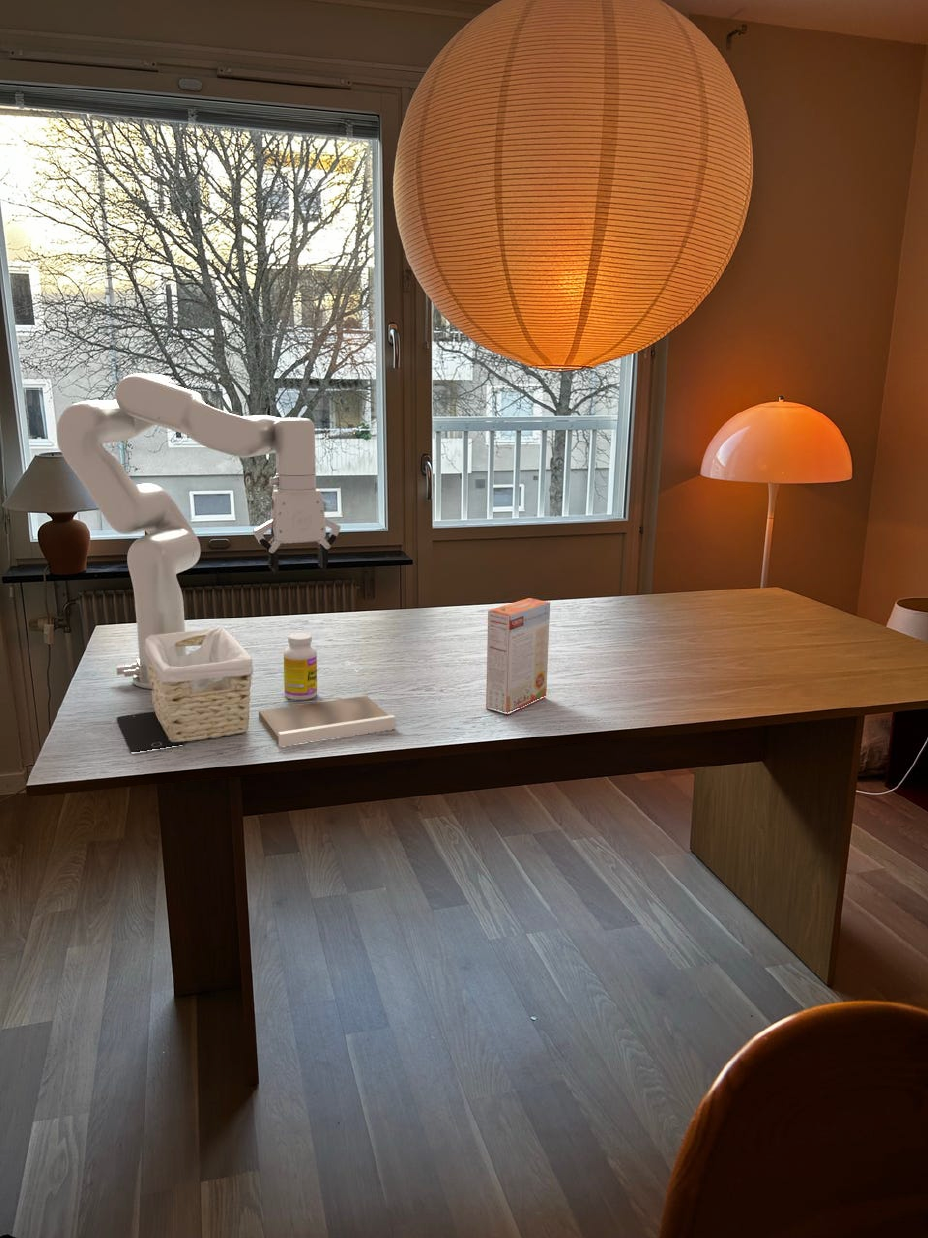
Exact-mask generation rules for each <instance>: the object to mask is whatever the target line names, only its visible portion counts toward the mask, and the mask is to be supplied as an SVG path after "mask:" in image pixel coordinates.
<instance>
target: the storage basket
mask: <svg viewBox="0 0 928 1238" xmlns="http://www.w3.org/2000/svg"><path fill="white" fill-rule="evenodd" d="M182 646H186V647H193V646H194V647H195V646H200V648H198V649H195V650H193V651H191V652H189V653H186V655H185V656H180V657H178V656H177V653H176V647H182ZM145 651H146V654H147V656H148V663H149V668H150V669H149V676H150V685H151V689H150V690H151V699H152V707H153V710H154V711H155V713H156V716H157V718H158V720H159V722H160V723H161V725H162V727H163V729H164V731H165V732H166V734H167V736H168V738H169V740H170V741H171V742H182V741H183V743H185V742H192V741H197V740H206V739H208V738H211V739H215V738H216V739H217V738H221V737H223V736H225V737H226V736H228V737H229V736H232V735H235V734H237V735H238V734H242V733H243V734H244V733H246V732H247V731H248V730H249V723H250V721H249V720H250V711H251V710H250V704H251V703H250V701H251V697H250V696H251V687H252V678H253V676H252V675H253V673H254V666H253V659H252V657H251V655H250V654H249V653H248V652H247V651H246V649H245V648H244V647H243V646H242V645H241V644H240V643H238V641H237V640H236V639H235V637H234V636H233V635H231V633H230V632H229V631H228V630H226V629H225V628H224V627H216V628H210V629H209V628H208V629H196V630H185V631H184V632H175V633H167V634H157V635H150V636H148V637H147V638H146V639H145Z"/></svg>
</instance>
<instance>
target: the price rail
mask: <svg viewBox="0 0 928 1238" xmlns="http://www.w3.org/2000/svg"><path fill="white" fill-rule="evenodd" d="M387 715H388V716H382V717H375V718H369V719H362V720H356V721H349V722H342V723H336V724H329V725H323V726H316V727H310V728H303V729H297V730H290V731H284V732H278V737H279V745H280V746H279V745H278V746H279V748H280V747H282V748H284V747H283V746H289V745H294V744H299V743H305V742H310V741H316V740H322V739H330V738H337V737H345V738H350V737H349V736H351V737H356V736H355V735H357V736H362V735H369V734H368V733H370V734H375V732H376V733H380V731H382V732H386V731H385V730H388V731H393V730H392V729H394V730H396V716H395V715H394V714H387ZM289 747H290V746H289Z"/></svg>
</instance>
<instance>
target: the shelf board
mask: <svg viewBox="0 0 928 1238" xmlns="http://www.w3.org/2000/svg"><path fill="white" fill-rule="evenodd" d="M388 715H389V714H388V713H386V712H385V711H384V710H383V709H382V708H381V707H380V706H378V705H377V704H376V702H375V701H373V700H372V699H371V698H370V697H369V695H362V696H355V697H349V698H342V699H335V700H327V701H320V702H319V701H318V702H313V703H307V704H297V705H293V706H292V705H291V706H284V707H277V708H271V709H263V710H258V719H259V720H260V722H261V723H262V724H263V726H264V727H265V728H266V730H267V732H269V734H270V735H271V736H272V738H273V740H274V741H275V740H276V741H277V742H276V741H275V742H276V744H277V743H278V744H279V737H278V732H284V731H290V730H297V729H303V728H310V727H316V726H323V725H329V724H336V723H342V722H349V721H356V720H362V719H369V718H375V717H382V716H388ZM278 744H277V745H278Z"/></svg>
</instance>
